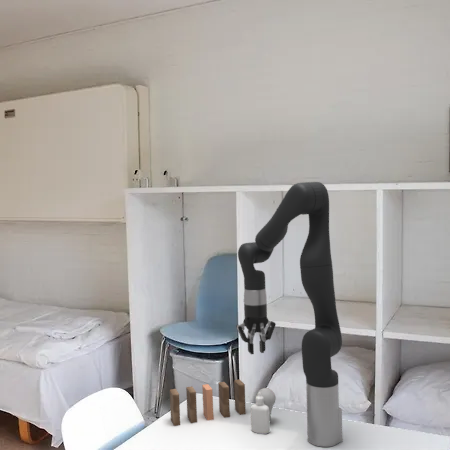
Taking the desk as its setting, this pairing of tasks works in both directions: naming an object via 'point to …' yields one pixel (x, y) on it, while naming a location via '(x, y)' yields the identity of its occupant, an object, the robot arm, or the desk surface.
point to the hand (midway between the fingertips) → (256, 352)
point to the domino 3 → (207, 402)
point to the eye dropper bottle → (260, 416)
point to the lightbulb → (268, 398)
